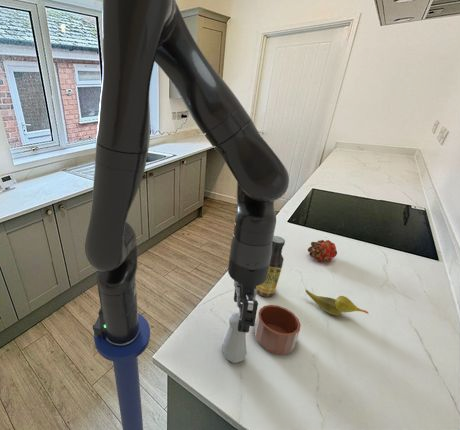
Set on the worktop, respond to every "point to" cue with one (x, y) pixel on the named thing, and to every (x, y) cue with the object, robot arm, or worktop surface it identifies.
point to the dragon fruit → (322, 250)
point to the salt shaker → (234, 341)
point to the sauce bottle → (273, 268)
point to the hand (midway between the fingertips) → (240, 315)
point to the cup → (277, 329)
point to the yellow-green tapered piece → (335, 304)
